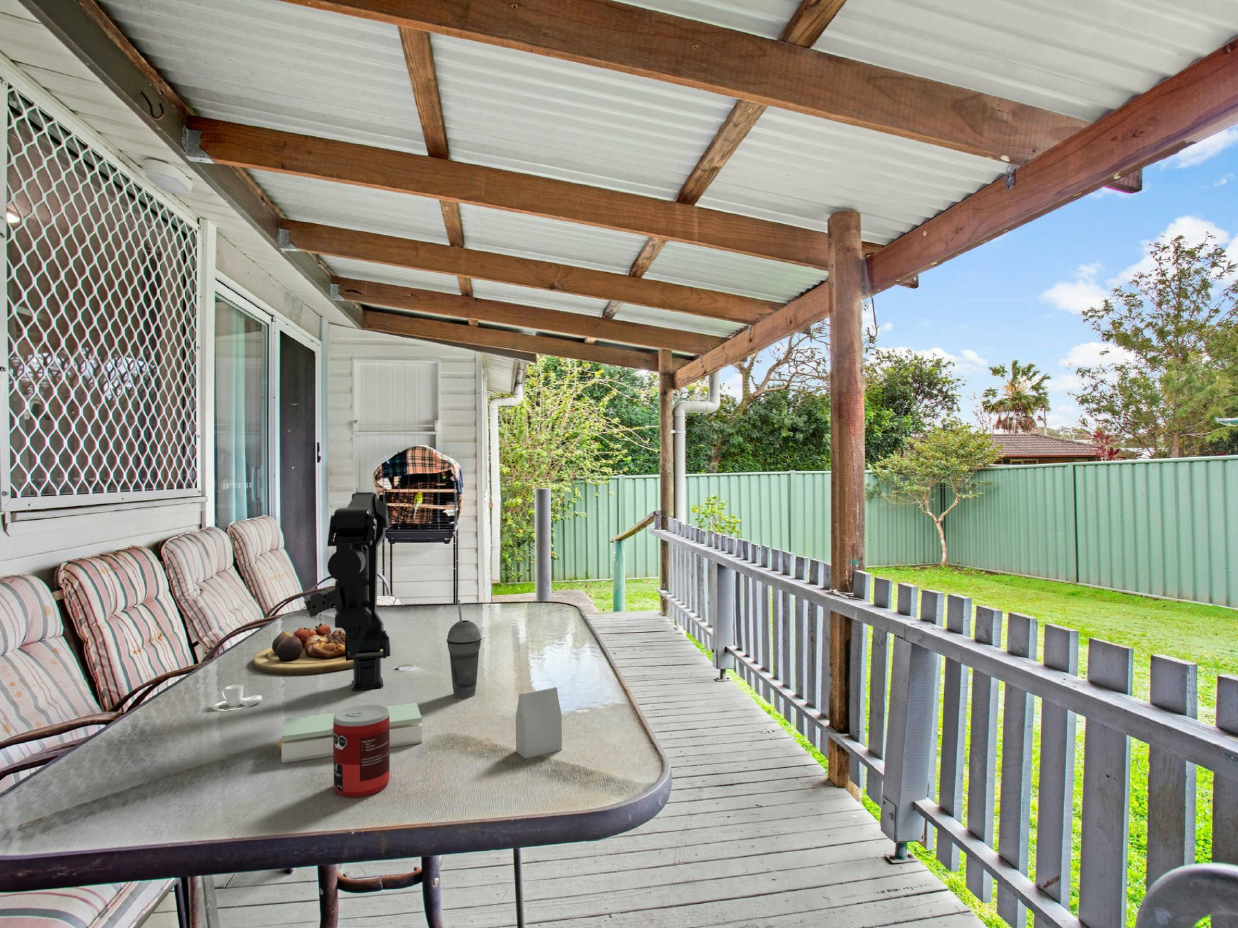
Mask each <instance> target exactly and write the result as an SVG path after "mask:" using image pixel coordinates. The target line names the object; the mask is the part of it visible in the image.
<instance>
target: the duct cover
mask: <svg viewBox="0 0 1238 928" xmlns="http://www.w3.org/2000/svg"><path fill="white" fill-rule="evenodd" d="M385 707H386V708H388V709H389V720H390V727H392V726H399V725H406V724H414V723H420V724H422V723H423V720H422V719H423V718H422V715H421V712H420V708H419V706H418V703H417V702H413V703H406V704H405V703H404V704H398V705H397V704H396V705H389V706H385ZM336 713H337V712H333V713H323V714H316V715H308V716H302V717H301V716H300V717H291V718H286V720H285V722H284V723H285V724H284V727H283V731H282V734H281V739H282V741H288V740H295V739H303V738H310V737H318V736H325V735H332V734H333V720H334V715H335V714H336Z"/></svg>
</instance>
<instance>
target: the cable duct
mask: <svg viewBox="0 0 1238 928" xmlns="http://www.w3.org/2000/svg"><path fill="white" fill-rule="evenodd" d="M422 743H423V724H422V723H420V724H415V725H407V726H400V727H393V728H390V748H395V747H402V746H410V745H411V746H412V745H416V744H422ZM326 757H333V736H326V737H319V738H312V739H304V740H297V741H289V742H282V749H281V764H285V763H292V762H301V761H307V760H313V759H321V758H326Z"/></svg>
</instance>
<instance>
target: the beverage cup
mask: <svg viewBox="0 0 1238 928" xmlns="http://www.w3.org/2000/svg"><path fill="white" fill-rule="evenodd" d="M457 607H458V608H457V609H458V616H459V621H456V622H455V623H454V624H453V625H451V627H450V628H449V631H448V634H447V638H446V643H447V649H448V652H449V653H448V654H449V661H450V673H451V684H452V690H453V691H452V692H453V697H454V698H458V699H465V698H472V697H474V696H475V695H476V692H477V691H476V690H477V689H476V688H477V682H478V670H479V669H478V667H479V656H480V653H479V652H480V649H481V645H482V642H481V641H482V640H483V639H482V635H481V632H480V629H479V627H478V626H477V624H475V623H474V622H473V621H470V620H467V619H466V620H465V619H464V620H463V615H462V608H461V607H462V606H461V600H460V599H457Z"/></svg>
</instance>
